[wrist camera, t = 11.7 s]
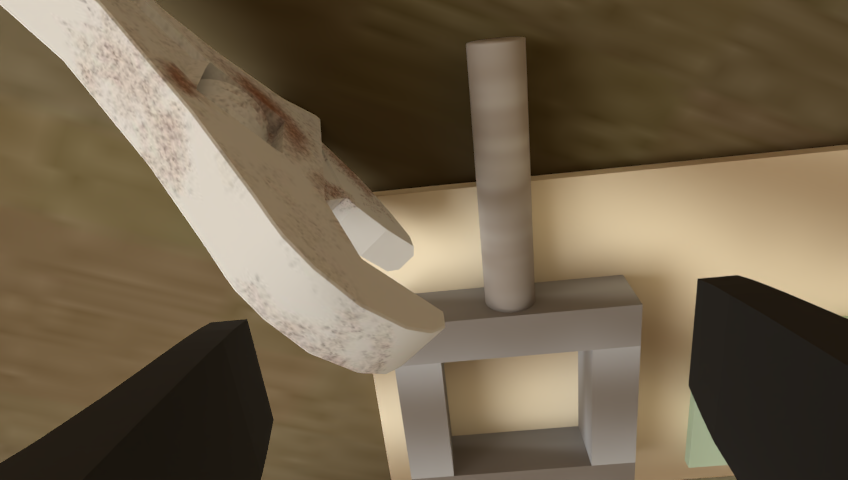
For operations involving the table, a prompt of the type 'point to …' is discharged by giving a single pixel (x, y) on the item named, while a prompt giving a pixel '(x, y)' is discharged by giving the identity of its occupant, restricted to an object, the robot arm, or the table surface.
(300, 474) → the table surface
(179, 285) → the table surface
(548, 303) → the chuck board
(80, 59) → the wrench
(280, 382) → the table surface
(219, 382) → the robot arm
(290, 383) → the table surface
